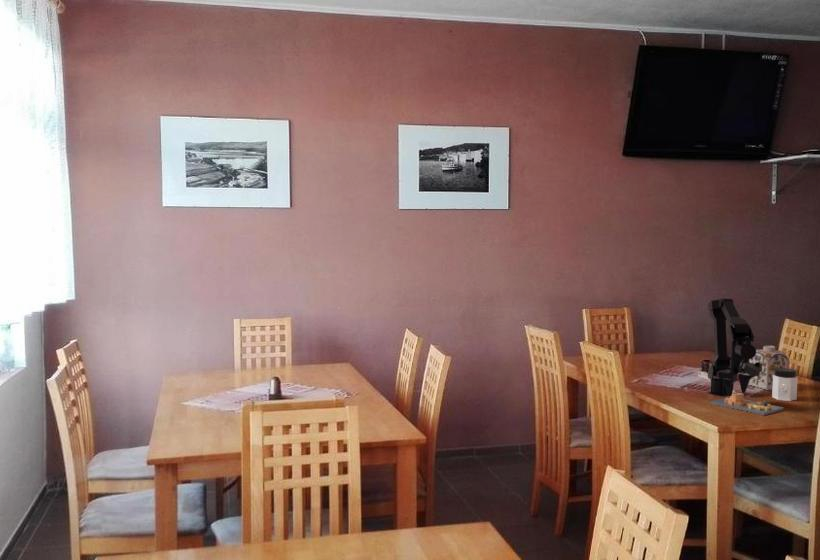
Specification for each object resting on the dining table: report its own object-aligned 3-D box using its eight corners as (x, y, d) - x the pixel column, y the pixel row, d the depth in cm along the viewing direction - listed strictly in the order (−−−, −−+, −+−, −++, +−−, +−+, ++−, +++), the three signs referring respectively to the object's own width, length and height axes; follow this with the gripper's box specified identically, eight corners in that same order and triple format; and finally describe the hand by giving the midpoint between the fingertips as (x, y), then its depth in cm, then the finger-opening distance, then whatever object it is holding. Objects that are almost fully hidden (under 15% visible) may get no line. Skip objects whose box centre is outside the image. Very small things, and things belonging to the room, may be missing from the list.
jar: (771, 399, 301) (772, 370, 300) (772, 395, 308) (773, 367, 307) (796, 402, 296) (797, 372, 296) (796, 398, 304) (798, 369, 303)
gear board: (710, 403, 293) (710, 392, 293) (730, 399, 301) (730, 388, 301) (763, 415, 275) (764, 403, 275) (783, 410, 283) (784, 398, 283)
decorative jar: (788, 389, 320) (790, 347, 319) (767, 390, 317) (768, 349, 316) (767, 383, 332) (769, 343, 330) (746, 385, 328) (748, 344, 327)
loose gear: (720, 402, 291) (720, 393, 291) (732, 399, 296) (733, 390, 296) (741, 406, 284) (741, 397, 284) (753, 403, 289) (754, 394, 289)
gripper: (744, 360, 277) (743, 401, 278) (771, 355, 288) (769, 395, 289) (717, 355, 286) (715, 395, 287) (744, 351, 297) (742, 389, 298)
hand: (736, 394), depth 290 cm, fingers open, 9 cm apart
